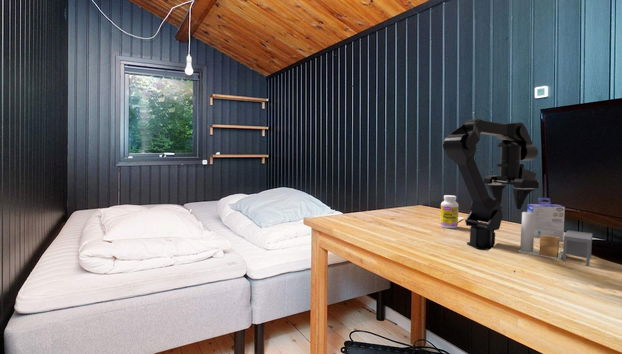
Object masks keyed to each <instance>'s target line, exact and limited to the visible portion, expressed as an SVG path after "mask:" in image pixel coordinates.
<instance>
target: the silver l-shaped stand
mask: <svg viewBox="0 0 622 354" xmlns="http://www.w3.org/2000/svg"><path fill="white" fill-rule="evenodd" d="M534 225H535V213H531V212H527V211H523V212H521V225H520V227H521V228H520V245H519V246H520V248H519V249H518V250H517V251H516V252H517V253H522V254H523V253H524V254H529V255H534V256H540V257H546V258H550V259H551V258H552V259H557V260H561V259H563V250H559V255H558V256H557V258H556V257H551V256H545V255H539V252H540V249H535V248H534V244H535V242H534V241H535V239H534Z"/></svg>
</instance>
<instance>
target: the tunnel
mask: <svg viewBox="0 0 622 354" xmlns="http://www.w3.org/2000/svg"><path fill="white" fill-rule="evenodd" d="M593 235H594V234H593V233H592V232H586V231H585V232H584V231H583V232H582V231H576V230H569V229H568V230H567V231H566V232H565V233H564V238H563V249H562V251H563V256H562V262H565V263H566V260H567V255H570V256H576V257H580V258H581V257H582V258H586V262H585V264H586V265H585V266H587V267H590V261H591V259H592V246H593V245H592V244H593Z"/></svg>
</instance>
